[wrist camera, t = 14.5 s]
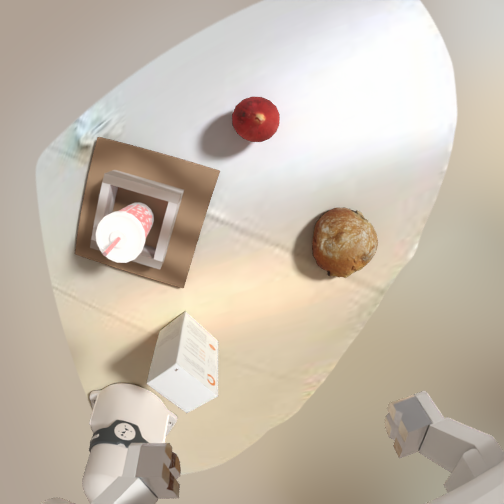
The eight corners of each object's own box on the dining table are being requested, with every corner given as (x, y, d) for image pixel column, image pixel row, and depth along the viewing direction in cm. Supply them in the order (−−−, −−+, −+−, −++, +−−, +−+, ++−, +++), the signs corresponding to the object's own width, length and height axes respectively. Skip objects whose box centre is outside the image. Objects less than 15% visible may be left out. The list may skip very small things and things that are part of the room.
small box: (159, 330, 51) (144, 383, 39) (185, 309, 50) (176, 362, 38) (192, 359, 53) (187, 414, 41) (219, 341, 52) (219, 396, 40)
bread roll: (365, 223, 51) (393, 215, 43) (354, 284, 50) (381, 284, 42) (312, 204, 49) (335, 192, 42) (298, 269, 48) (320, 267, 40)
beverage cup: (116, 234, 44) (78, 274, 31) (120, 193, 42) (80, 219, 29) (155, 242, 45) (130, 286, 31) (162, 201, 43) (136, 230, 29)
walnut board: (184, 285, 48) (180, 301, 44) (77, 251, 45) (64, 264, 40) (219, 170, 43) (219, 175, 38) (100, 137, 39) (86, 138, 35)
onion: (225, 132, 41) (225, 131, 34) (240, 94, 39) (244, 84, 32) (265, 147, 42) (274, 150, 35) (281, 109, 40) (293, 104, 33)
